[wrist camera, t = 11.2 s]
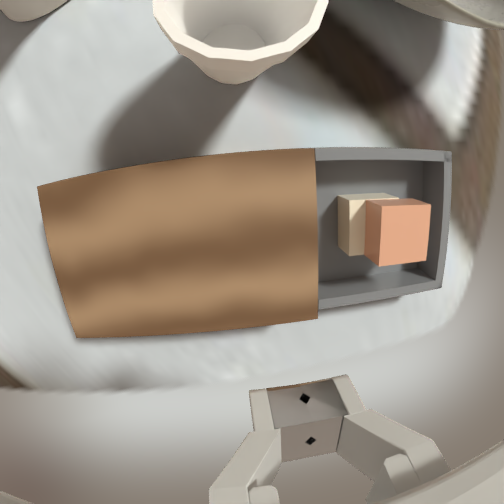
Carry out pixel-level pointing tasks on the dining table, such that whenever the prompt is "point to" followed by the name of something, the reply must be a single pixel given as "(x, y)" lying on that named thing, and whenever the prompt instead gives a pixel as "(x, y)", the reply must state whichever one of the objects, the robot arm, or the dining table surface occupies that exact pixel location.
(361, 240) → the cream block
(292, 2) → the foam cup
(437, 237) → the box
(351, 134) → the dining table surface
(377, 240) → the salmon orange block
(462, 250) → the dining table surface
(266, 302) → the walnut platform
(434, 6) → the decorative bowl
